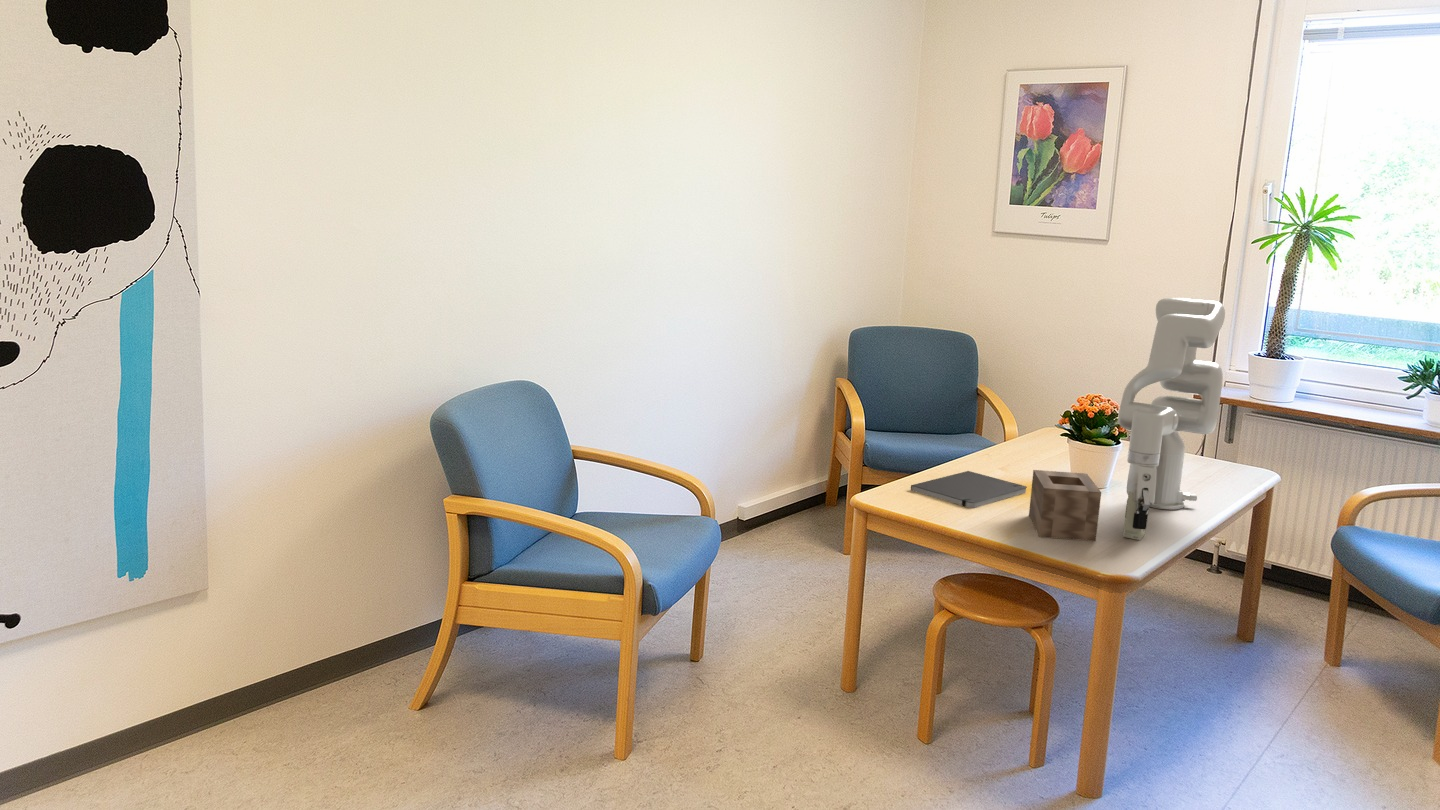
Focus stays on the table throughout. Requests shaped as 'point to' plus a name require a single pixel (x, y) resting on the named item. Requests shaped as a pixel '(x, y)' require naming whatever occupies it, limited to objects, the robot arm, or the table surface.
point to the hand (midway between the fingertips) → (1135, 523)
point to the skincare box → (1128, 527)
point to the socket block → (1064, 505)
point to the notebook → (969, 489)
